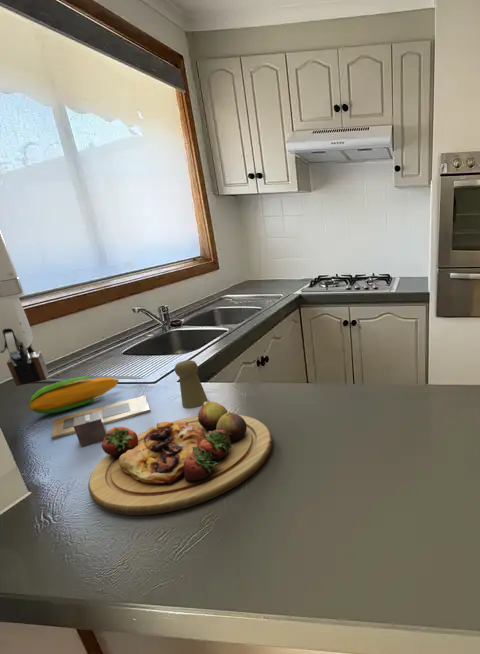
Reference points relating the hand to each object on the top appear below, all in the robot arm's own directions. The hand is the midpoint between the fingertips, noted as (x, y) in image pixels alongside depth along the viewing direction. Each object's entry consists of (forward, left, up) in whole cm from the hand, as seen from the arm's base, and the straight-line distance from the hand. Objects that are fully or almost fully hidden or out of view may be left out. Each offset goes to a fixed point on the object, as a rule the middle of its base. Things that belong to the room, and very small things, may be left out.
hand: (32, 377), depth 87 cm
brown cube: (+7, -5, -15) cm, 17 cm away
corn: (+4, +20, -15) cm, 26 cm away
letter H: (0, 0, 0) cm, 0 cm away
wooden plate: (+22, -29, -15) cm, 39 cm away
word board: (+9, +7, -15) cm, 19 cm away
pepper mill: (+29, -1, -15) cm, 33 cm away
